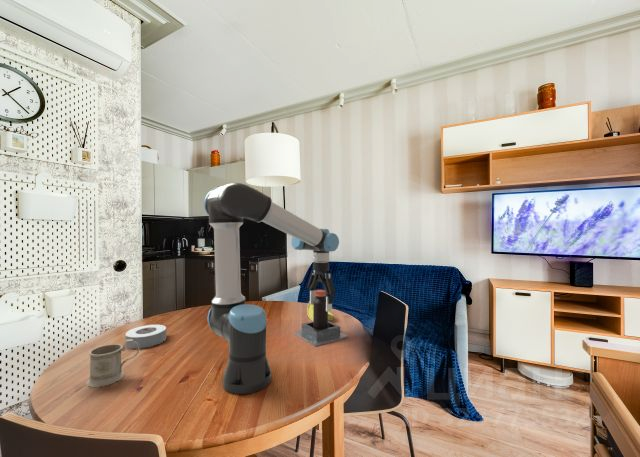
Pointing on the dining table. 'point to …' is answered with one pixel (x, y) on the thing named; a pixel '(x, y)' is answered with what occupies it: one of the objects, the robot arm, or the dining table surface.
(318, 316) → the vinegar
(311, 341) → the duct collar
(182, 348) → the dining table surface
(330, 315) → the plastic component
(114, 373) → the mug
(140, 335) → the tape roll
